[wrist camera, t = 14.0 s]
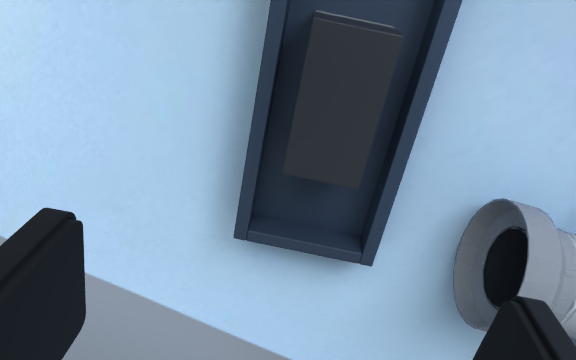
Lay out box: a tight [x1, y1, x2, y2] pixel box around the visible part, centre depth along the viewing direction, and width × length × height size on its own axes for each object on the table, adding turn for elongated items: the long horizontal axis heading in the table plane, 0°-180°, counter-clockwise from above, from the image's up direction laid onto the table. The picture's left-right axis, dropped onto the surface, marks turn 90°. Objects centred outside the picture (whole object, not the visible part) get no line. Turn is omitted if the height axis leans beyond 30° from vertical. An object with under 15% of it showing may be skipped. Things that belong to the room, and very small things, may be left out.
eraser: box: [282, 10, 404, 189], centre depth 23 cm, size 4×8×4 cm, turn 170°
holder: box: [234, 0, 462, 266], centre depth 24 cm, size 9×20×2 cm, turn 169°
